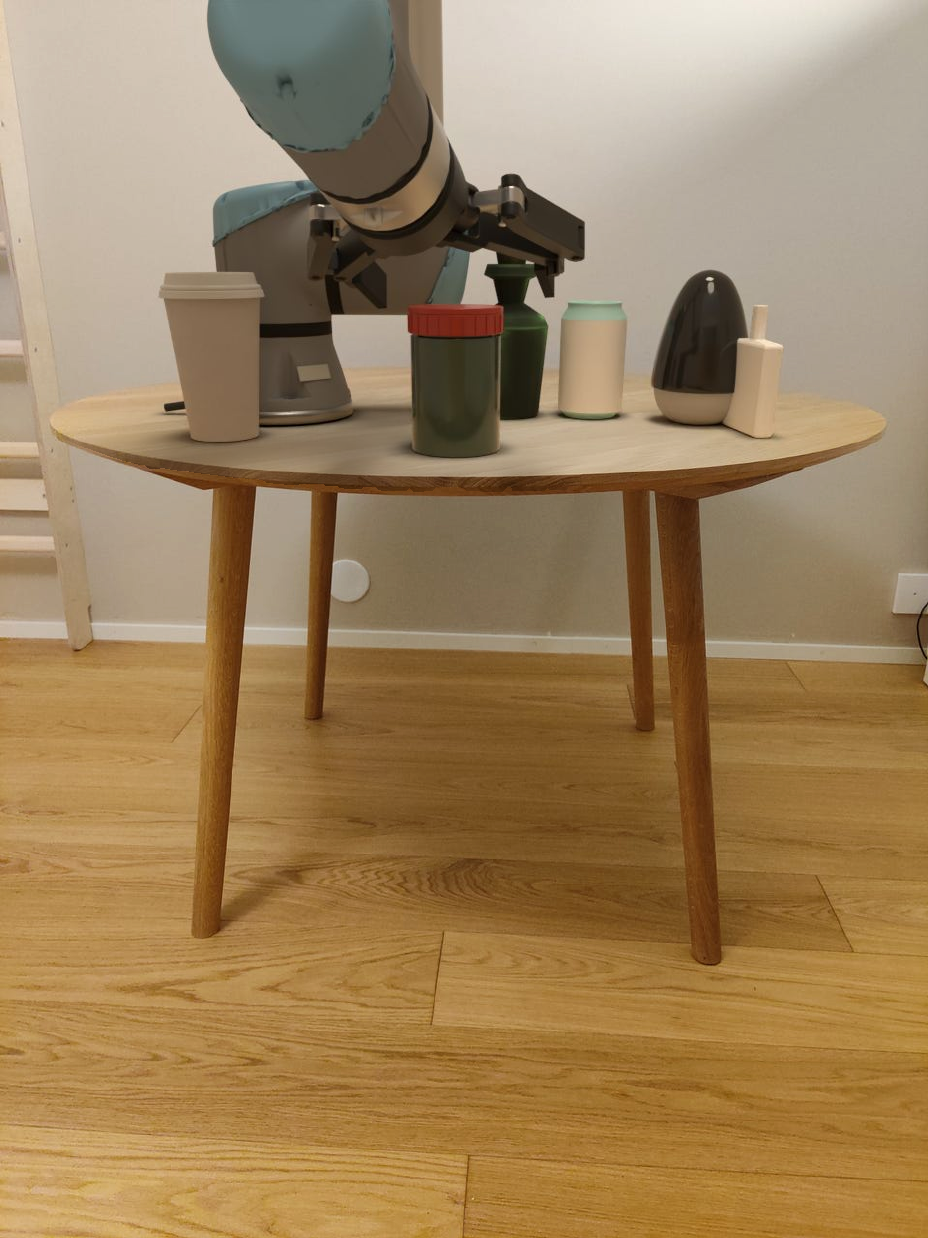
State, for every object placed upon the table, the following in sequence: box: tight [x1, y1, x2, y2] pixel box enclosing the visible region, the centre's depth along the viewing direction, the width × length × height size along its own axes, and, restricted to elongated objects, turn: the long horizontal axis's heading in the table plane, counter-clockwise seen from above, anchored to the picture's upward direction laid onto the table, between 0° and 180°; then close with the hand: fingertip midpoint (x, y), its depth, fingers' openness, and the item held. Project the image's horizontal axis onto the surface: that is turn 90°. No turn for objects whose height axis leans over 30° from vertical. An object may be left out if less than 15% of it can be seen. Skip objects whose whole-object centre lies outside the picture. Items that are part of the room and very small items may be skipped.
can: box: [557, 300, 628, 420], centre depth 100 cm, size 7×7×12 cm
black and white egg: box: [650, 269, 750, 426], centre depth 96 cm, size 10×10×15 cm
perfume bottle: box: [722, 304, 785, 439], centre depth 91 cm, size 8×2×12 cm, turn 8°
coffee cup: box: [158, 271, 265, 443], centre depth 87 cm, size 10×10×15 cm
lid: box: [406, 303, 504, 336], centre depth 80 cm, size 8×8×2 cm
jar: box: [409, 334, 501, 458], centre depth 82 cm, size 8×8×12 cm
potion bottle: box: [483, 252, 549, 420], centre depth 99 cm, size 8×8×18 cm
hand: (464, 286), depth 73 cm, fingers open, 13 cm apart
